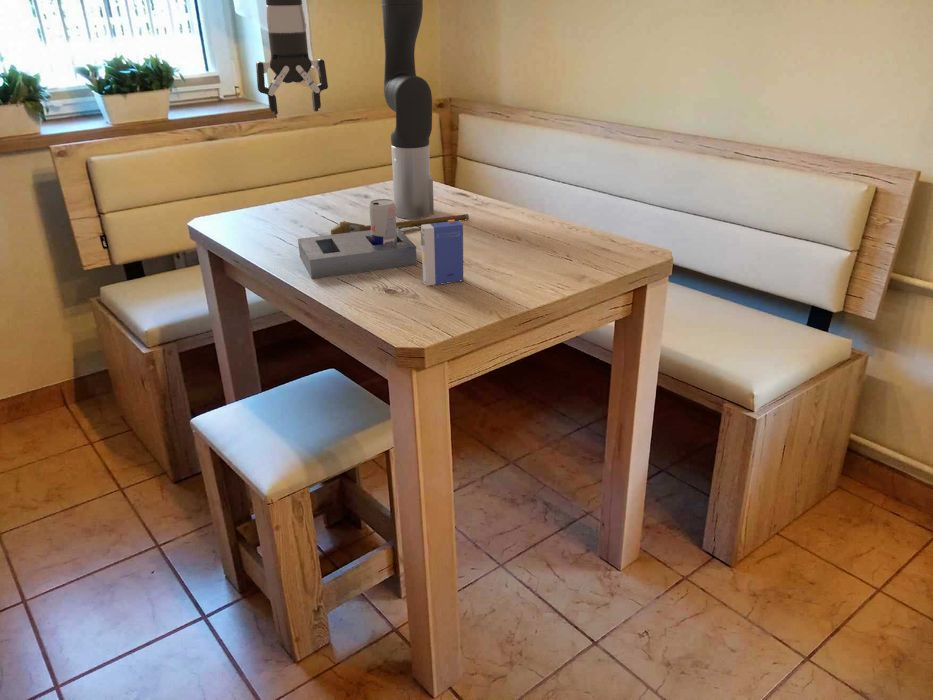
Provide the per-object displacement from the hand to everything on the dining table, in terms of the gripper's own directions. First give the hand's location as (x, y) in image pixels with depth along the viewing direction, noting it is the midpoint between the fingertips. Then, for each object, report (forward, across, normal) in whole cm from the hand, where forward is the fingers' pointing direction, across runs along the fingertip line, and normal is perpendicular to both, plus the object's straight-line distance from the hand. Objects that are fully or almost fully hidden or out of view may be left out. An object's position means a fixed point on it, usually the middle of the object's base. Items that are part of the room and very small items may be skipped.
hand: (295, 112), depth 159 cm
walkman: (+28, -20, +36) cm, 50 cm away
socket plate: (+28, -7, +18) cm, 34 cm away
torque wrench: (+29, -22, +2) cm, 36 cm away
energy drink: (+28, -13, +18) cm, 36 cm away
